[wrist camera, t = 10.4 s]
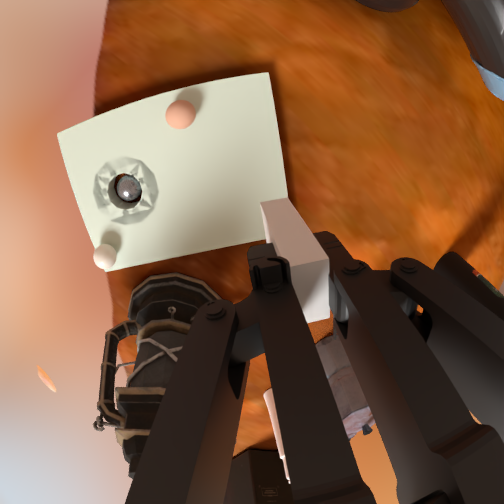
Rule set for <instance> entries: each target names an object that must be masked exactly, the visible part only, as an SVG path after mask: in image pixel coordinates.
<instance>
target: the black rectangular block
mask: <svg viewBox="0 0 504 504" xmlns="http://www.w3.org/2000/svg"><path fill="white" fill-rule="evenodd" d="M223 504H294V500H293V494H292V489H291V484H289V480H288V479H287V478H286V473H285V468H284V463H283V459H281V458H280V455H279V452H273V451H260V450H253V449H251V450H247V451H246V452H244V453H242V454H241V455H239V456H238V457H236V458H234V459H233V460H232V462H231V467H230V472H229V477H228V482H227V487H226V492H225V497H224V502H223Z"/></svg>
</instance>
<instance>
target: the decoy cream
mask: <svg viewBox="0 0 504 504" xmlns="http://www.w3.org/2000/svg"><path fill="white" fill-rule="evenodd" d="M93 256H94V257H93V258H94V262H95V264H96V265H97V266H98V267H100V268H102V269H109V268H111V267H112V266H113V265H114V264H115V262H116V259H117V254H116V251H115V249H114V248H113V247H112V246H111V245H108V244H102V245H100V246H98V247H97V248H96V249H95V252H94V255H93Z"/></svg>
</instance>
